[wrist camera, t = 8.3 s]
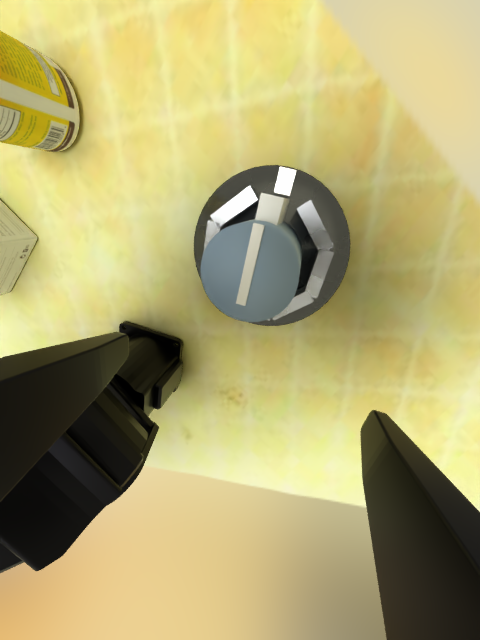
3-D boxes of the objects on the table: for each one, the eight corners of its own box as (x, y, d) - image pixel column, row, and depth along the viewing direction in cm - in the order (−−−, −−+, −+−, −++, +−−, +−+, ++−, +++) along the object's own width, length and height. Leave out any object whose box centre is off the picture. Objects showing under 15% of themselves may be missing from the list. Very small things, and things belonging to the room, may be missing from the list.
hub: (191, 299, 22) (179, 309, 20) (210, 151, 17) (195, 144, 15) (316, 337, 20) (316, 352, 18) (376, 187, 15) (387, 185, 13)
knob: (289, 296, 19) (281, 335, 13) (226, 278, 19) (193, 308, 14) (319, 206, 16) (324, 207, 10) (243, 188, 16) (210, 180, 11)
